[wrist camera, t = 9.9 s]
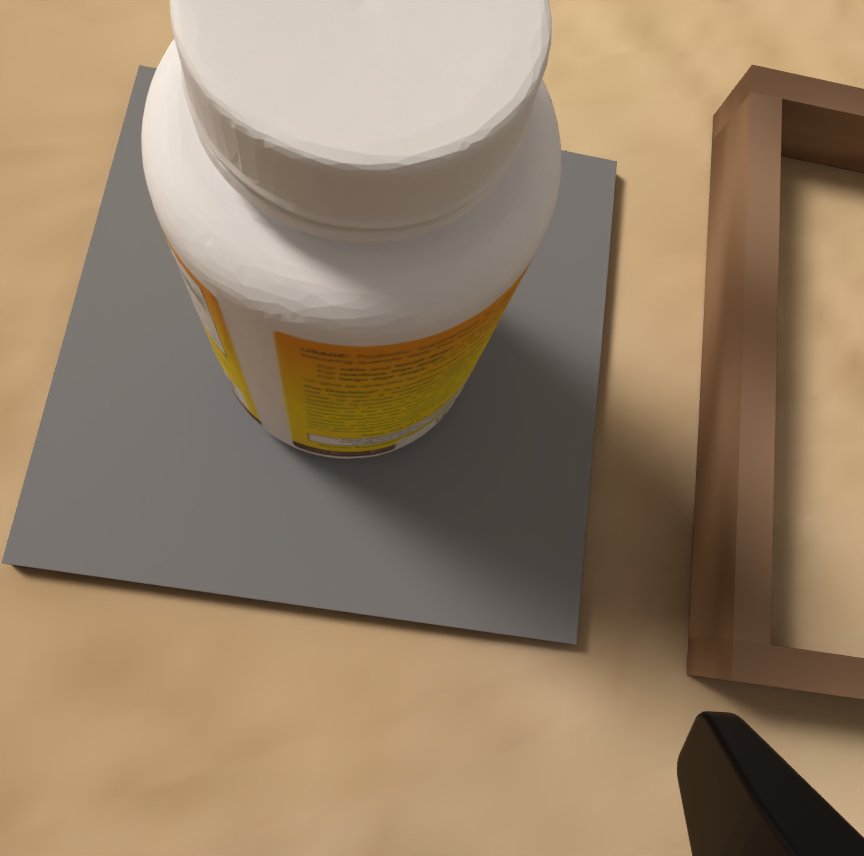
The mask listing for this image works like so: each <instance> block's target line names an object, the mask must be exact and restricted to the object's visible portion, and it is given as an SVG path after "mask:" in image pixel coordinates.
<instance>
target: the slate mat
mask: <svg viewBox="0 0 864 856" xmlns="http://www.w3.org/2000/svg"><path fill="white" fill-rule="evenodd" d="M155 71H156V68H151V67H146V66H141V65H139V68H138V72H137V76H136V79H135V83H134V87H133V90H132V94H131V97H130V101H129V105H128V108H127V112H126V115H125V119H124V123H123V126H122V130H121V134H120V137H119V141H118V144H117V148H116V152H115V155H114V159H113V162H112V166H111V170H110V173H109V177H108V180H107V184H106V188H105V191H104V195H103V199H102V202H101V206H100V209H99V213H98V217H97V220H96V224H95V227H94V231H93V235H92V238H91V242H90V246H89V249H88V253H87V256H86V260H85V264H84V267H83V271H82V274H81V278H80V282H79V285H78V289H77V293H76V296H75V300H74V303H73V307H72V311H71V314H70V318H69V321H68V325H67V329H66V332H65V336H64V339H63V343H62V347H61V350H60V354H59V358H58V361H57V365H56V368H55V372H54V376H53V379H52V383H51V386H50V390H49V394H48V397H47V401H46V405H45V408H44V412H43V415H42V419H41V423H40V426H39V430H38V433H37V437H36V441H35V444H34V448H33V452H32V455H31V459H30V462H29V466H28V470H27V473H26V477H25V480H24V484H23V488H22V491H21V495H20V498H19V502H18V506H17V509H16V513H15V517H14V520H13V524H12V527H11V531H10V535H9V538H8V542H7V545H6V549H5V553H4V556H3V560H2V563H4V564H10V565H17V566H24V567H31V568H38V569H45V570H52V571H59V572H66V573H73V574H80V575H87V576H95V577H102V578H109V579H116V580H123V581H130V582H137V583H144V584H151V585H158V586H165V587H172V588H179V589H186V590H193V591H200V592H207V593H214V594H221V595H229V596H236V597H243V598H250V599H257V600H264V601H271V602H278V603H285V604H292V605H299V606H306V607H313V608H320V609H327V610H334V611H341V612H348V613H355V614H362V615H370V616H377V617H384V618H391V619H398V620H405V621H412V622H419V623H426V624H433V625H440V626H447V627H454V628H461V629H468V630H475V631H482V632H489V633H496V634H503V635H511V636H518V637H525V638H532V639H539V640H546V641H553V642H560V643H567V644H576V645H577V633H578V621H579V609H580V597H581V585H582V573H583V561H584V549H585V537H586V525H587V513H588V501H589V489H590V477H591V465H592V453H593V441H594V430H595V418H596V406H597V394H598V382H599V370H600V358H601V346H602V334H603V322H604V310H605V298H606V286H607V274H608V262H609V250H610V238H611V226H612V214H613V202H614V190H615V178H616V166H617V161H612V160H607V159H602V158H597V157H592V156H587V155H582V154H577V153H572V152H567V151H562V150H561V176H560V184H559V190H558V196H557V201H556V205H555V208H554V212H553V215H552V218H551V220H550V223H549V226H548V228H547V231H546V233H545V235H544V238H543V240H542V242H541V244H540V246H539V248H538V250H537V252H536V253H535V255H534V257H533V259H532V261H531V263H530V265H529V267H528V269H527V270H526V272H525V274H524V276H523V278H522V280H521V281H520V283H519V285H518V287H517V289H516V291H515V292H514V294H513V296H512V298H511V300H510V302H509V304H508V305H507V307H506V309H505V311H504V313H503V315H502V317H501V319H500V320H499V322H498V324H497V326H496V328H495V330H494V332H493V333H492V335H491V337H490V339H489V341H488V343H487V345H486V347H485V348H484V350H483V352H482V354H481V356H480V357H479V359H478V361H477V363H476V365H475V367H474V369H473V371H472V372H471V375H470V376H469V378H468V380H467V382H466V383H465V385H464V387H463V389H462V391H461V393H460V394H459V396H458V397H457V399H456V400H455V402H454V403H453V405H452V406H451V408H450V409H449V410H448V412H447V413H446V414H445V415H444V416H443V417H442V418H441V420H440V421H439V422H438V423H437V424H436V425H435V426H434V427H432V428H431V429H430V430H429V431H427V432H426V433H425V434H424V435H422V436H421V437H419V438H418V439H416V440H415V441H413V442H411V443H409V444H407V445H405V446H403V447H401V448H399V449H396V450H394V451H391V452H389V453H385V454H382V455H378V456H372V457H365V458H350V459H344V458H331V457H325V456H320V455H315V454H312V453H309V452H305V451H302V450H300V449H297V448H295V447H293V446H290V445H288V444H286V443H285V442H283V441H281V440H279V439H277V438H276V437H274V436H273V435H271V434H270V433H269V432H267V431H266V430H265V429H264V428H263V427H261V426H260V425H259V424H258V423H257V422H256V421H255V420H254V419H253V418H252V417H251V416H250V415H249V414H248V412H247V411H246V410H245V409H244V408H243V406H242V405H241V404H240V402H239V401H238V399H237V397H236V396H235V394H234V392H233V391H232V389H231V387H230V385H229V383H228V381H227V379H226V376H225V374H224V372H223V370H222V368H221V366H220V364H219V361H218V359H217V356H216V354H215V352H214V349H213V347H212V345H211V343H210V340H209V338H208V335H207V333H206V331H205V329H204V326H203V324H202V322H201V319H200V317H199V314H198V312H197V310H196V308H195V306H194V303H193V301H192V299H191V296H190V293H189V291H188V289H187V286H186V284H185V282H184V279H183V277H182V275H181V272H180V270H179V267H178V265H177V263H176V260H175V258H174V256H173V254H172V252H171V249H170V246H169V244H168V242H167V239H166V237H165V235H164V233H163V231H162V228H161V225H160V223H159V220H158V218H157V215H156V213H155V210H154V207H153V203H152V200H151V196H150V193H149V190H148V187H147V183H146V178H145V174H144V169H143V160H142V141H141V134H142V121H143V115H144V109H145V104H146V98H147V95H148V92H149V88H150V85H151V82H152V79H153V76H154V74H155Z"/></svg>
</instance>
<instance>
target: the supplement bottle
mask: <svg viewBox="0 0 864 856" xmlns="http://www.w3.org/2000/svg"><path fill="white" fill-rule="evenodd" d="M170 15H171V23H172V30H173V35H174V40H173V41H172V43H171V44H170V46H169V48H168V49H167V51H166V53H165V54H164V56H163V58H162V60H161V62H160V63H159V65H158V67H157V69H156V71H155V74H154V76H153V79H152V82H151V85H150V88H149V92H148V95H147V98H146V104H145V109H144V115H143V121H142V134H141V141H142V160H143V169H144V174H145V178H146V183H147V187H148V190H149V193H150V196H151V200H152V203H153V207H154V210H155V213H156V215H157V218H158V220H159V223H160V225H161V228H162V231H163V233H164V235H165V237H166V239H167V242H168V244H169V246H170V249H171V252H172V254H173V256H174V258H175V260H176V263H177V265H178V267H179V270H180V272H181V275H182V277H183V279H184V282H185V284H186V286H187V289H188V291H189V293H190V296H191V299H192V301H193V303H194V306H195V308H196V310H197V312H198V314H199V317H200V319H201V322H202V324H203V326H204V329H205V331H206V333H207V335H208V338H209V340H210V343H211V345H212V347H213V349H214V352H215V354H216V356H217V359H218V361H219V364H220V366H221V368H222V370H223V372H224V374H225V376H226V379H227V381H228V383H229V385H230V387H231V389H232V391H233V392H234V394H235V396H236V397H237V399H238V401H239V402H240V404H241V405H242V406H243V408H244V409H245V410H246V411H247V412H248V414H249V415H250V416H251V417H252V418H253V419H254V420H255V421H256V422H257V423H258V424H259V425H260V426H261V427H263V428H264V429H265V430H266V431H267V432H269V433H270V434H271V435H273V436H274V437H276V438H277V439H279V440H281V441H283V442H285V443H286V444H288V445H290V446H293V447H295V448H297V449H300V450H302V451H305V452H309V453H312V454H315V455H320V456H325V457H331V458H344V459H350V458H365V457H372V456H378V455H382V454H385V453H389V452H391V451H394V450H396V449H399V448H401V447H403V446H405V445H407V444H409V443H411V442H413V441H415V440H416V439H418V438H419V437H421V436H422V435H424V434H425V433H426V432H427V431H429V430H430V429H431V428H432V427H434V426H435V425H436V424H437V423H438V422H439V421H440V420H441V418H442V417H443V416H444V415H445V414H446V413H447V412H448V410H449V409H450V408H451V406H452V405H453V403H454V402H455V400H456V399H457V397H458V396H459V394H460V393H461V391H462V389H463V387H464V385H465V383H466V382H467V380H468V378H469V376H470V375H471V372H472V371H473V369H474V367H475V365H476V363H477V361H478V359H479V357H480V356H481V354H482V352H483V350H484V348H485V347H486V345H487V343H488V341H489V339H490V337H491V335H492V333H493V332H494V330H495V328H496V326H497V324H498V322H499V320H500V319H501V317H502V315H503V313H504V311H505V309H506V307H507V305H508V304H509V302H510V300H511V298H512V296H513V294H514V292H515V291H516V289H517V287H518V285H519V283H520V281H521V280H522V278H523V276H524V274H525V272H526V270H527V269H528V267H529V265H530V263H531V261H532V259H533V257H534V255H535V253H536V252H537V250H538V248H539V246H540V244H541V242H542V240H543V238H544V235H545V233H546V231H547V228H548V226H549V223H550V220H551V218H552V215H553V212H554V208H555V205H556V201H557V196H558V190H559V184H560V176H561V145H560V135H559V129H558V123H557V118H556V115H555V111H554V107H553V104H552V100H551V98H550V95H549V93H548V91H547V88H546V86H545V83H544V81H543V80H542V77H543V75H544V72H545V69H546V66H547V61H548V55H549V50H550V45H551V12H550V5H549V0H170Z"/></svg>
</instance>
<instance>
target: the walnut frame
mask: <svg viewBox="0 0 864 856" xmlns="http://www.w3.org/2000/svg"><path fill="white" fill-rule="evenodd" d="M781 155H782V156H787V157H792V158H797V159H802V160H807V161H811V162H816V163H821V164H826V165H831V166H836V167H840V168H845V169H850V170H855V171H860V172H864V89H862V88H857V87H853V86H848V85H843V84H839V83H834V82H830V81H825V80H820V79H816V78H811V77H807V76H802V75H797V74H793V73H788V72H784V71H779V70H774V69H770V68H765V67H760V66H756V65H751V67H750V68H749V69H748V71H747V72H746V73H745V75H744V76H743V77H742V79H741V80H740V81H739V83H738V84H737V85H736V87H735V88H734V89H733V90H732V92H731V93H730V94H729V96H728V97H727V98H726V100H725V101H724V102H723V104H722V105H721V106H720V108H719V109H718V110H717V112H716V113H715V114H714V115H713V135H712V156H711V177H710V198H709V219H708V240H707V261H706V282H705V303H704V324H703V345H702V366H701V387H700V408H699V429H698V450H697V471H696V493H695V514H694V535H693V556H692V577H691V598H690V619H689V640H688V661H687V675H694V676H701V677H708V678H715V679H722V680H729V681H736V682H743V683H751V684H758V685H765V686H772V687H779V688H786V689H793V690H801V691H808V692H815V693H822V694H829V695H836V696H843V697H850V698H858V699H864V658H858V657H851V656H844V655H837V654H830V653H823V652H817V651H810V650H803V649H796V648H789V647H782V646H775V645H771V606H772V558H773V510H774V462H775V414H776V366H777V318H778V270H779V222H780V175H781Z"/></svg>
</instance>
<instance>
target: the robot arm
mask: <svg viewBox="0 0 864 856" xmlns="http://www.w3.org/2000/svg"><path fill="white" fill-rule="evenodd" d="M677 777H678V783H679V788H680V793H681V799H682V804H683V809H684V814H685V820H686V825H687V830H688V836H689V841H690V846H691V851H692V856H864V837H863V836H862V835H861V834H860V833H858V832H857V831H856V830H855V829H854V828H853V827H852V826H851V825H850V824H849V823H848V822H847V821H846V820H845V819H844V818H843V817H842V816H841V815H840V814H839V813H838V812H837V811H836V810H835V809H834V808H833V807H832V806H831V805H830V804H829V803H828V802H827V801H826V800H825V799H824V798H823V797H822V796H821V795H820V794H819V793H818V792H817V791H816V790H815V789H814V788H812V787H811V786H810V785H809V784H808V783H807V782H806V781H805V780H804V779H803V778H802V777H801V776H800V775H799V774H798V773H797V772H796V771H795V770H794V769H793V768H792V767H791V766H790V765H789V764H788V763H787V762H786V761H785V760H784V759H783V758H782V757H781V756H780V755H779V754H778V753H777V752H776V751H775V750H774V749H773V748H772V747H771V746H770V745H769V744H768V743H766V742H765V741H764V740H763V739H762V738H761V737H760V736H759V735H758V734H757V733H756V732H755V731H754V730H753V729H752V728H751V727H750V726H749V725H748V724H747V723H746V722H745V721H744V720H743V719H742V718H740V717H739V716H737V715H736V714H733V713H727V712H711V711H705V712H702V713H700V714H699V715H698V716H697V717H696V719H695V721H694V723H693V725H692V727H691V730H690V732H689V734H688V736H687V738H686V741H685V743H684V745H683V747H682V749H681V752H680V754H679V757H678V762H677Z"/></svg>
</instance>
